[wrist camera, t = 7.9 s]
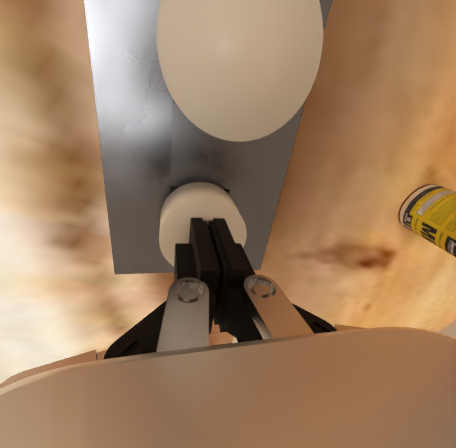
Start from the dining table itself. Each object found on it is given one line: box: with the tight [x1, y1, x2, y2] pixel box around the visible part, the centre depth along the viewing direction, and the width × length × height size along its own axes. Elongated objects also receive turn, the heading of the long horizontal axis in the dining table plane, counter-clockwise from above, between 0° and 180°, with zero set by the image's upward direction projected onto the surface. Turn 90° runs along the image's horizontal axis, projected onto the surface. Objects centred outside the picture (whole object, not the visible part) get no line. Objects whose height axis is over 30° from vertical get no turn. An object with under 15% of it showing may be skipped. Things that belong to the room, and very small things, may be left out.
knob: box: [159, 182, 247, 266], centre depth 14 cm, size 4×4×6 cm
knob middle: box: [156, 0, 323, 142], centre depth 8 cm, size 4×4×6 cm
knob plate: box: [84, 0, 332, 274], centre depth 12 cm, size 24×10×4 cm, turn 172°
